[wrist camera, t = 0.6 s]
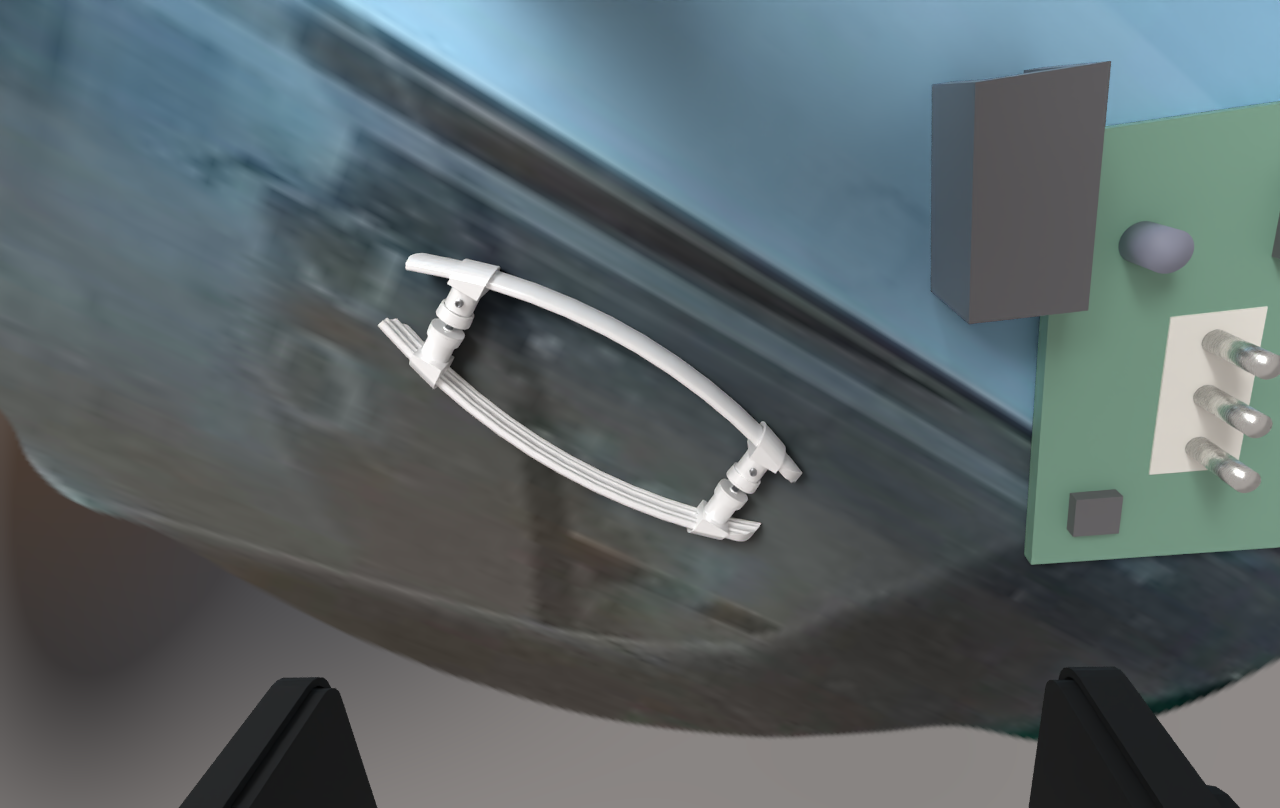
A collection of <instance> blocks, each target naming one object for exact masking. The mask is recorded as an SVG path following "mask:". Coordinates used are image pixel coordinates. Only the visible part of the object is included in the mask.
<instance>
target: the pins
mask: <svg viewBox="0 0 1280 808" xmlns="http://www.w3.org/2000/svg"><path fill="white" fill-rule="evenodd" d="M1201 344H1202V348H1203V349H1204V350H1205V351H1207V352H1209V353H1211V354H1213V355H1215V356H1217V357H1219V358H1221V359H1223V360H1225V361H1227V362H1229V363H1231V364H1233V365H1235V366H1237V367H1239V368H1241V369H1243V370H1245V371H1247V372H1249V373H1251V374H1253V375H1255V376H1257V377H1259V378H1261V379H1264V380H1268V379H1272V378H1275V377H1277V376H1278V375H1279V374H1280V356H1279V355H1277V354H1274V353H1272V352H1270V351H1268V350H1265V349H1263V348H1261V347H1259V346H1257V345H1254V344H1252V343H1250V342H1248V341H1245V340H1243V339H1241V338H1239V337H1237V336H1234V335H1232V334H1230V333H1228V332H1226V331H1223V330H1220V329H1216V330H1212V331H1210V332H1208V333H1207V334H1206V335H1205V336H1204V337H1203V339H1202V343H1201ZM1193 401H1194V402H1195V404H1197V405H1198V406H1200V407H1202V408H1203V409H1205V410H1206V411H1208V412H1210V413H1211V414H1213V415H1214V416H1216V417H1218V418H1219V419H1221V420H1222V421H1224V422H1226V423H1227V424H1229V425H1230V426H1232V427H1234V428H1235V429H1237V430H1238V431H1240V432H1242V433H1243V434H1245V435H1246V436H1248V437H1250V438H1260V437H1263V436H1264V435H1266V434H1267V433H1268V432H1269V431H1270V430H1271V428H1272V426H1273V422H1272V419H1271V418H1270V417H1268V416H1267V415H1265V414H1263V413H1261V412H1259V411H1258V410H1256V409H1254V408H1252V407H1251V406H1249V405H1247V404H1245V403H1244V402H1242V401H1240V400H1238V399H1237V398H1235V397H1233V396H1231V395H1230V394H1228V393H1226V392H1224V391H1222V390H1221V389H1219V388H1217V387H1215V386H1214V385H1203V386H1201V387H1199V388H1198V389H1197V390H1196V391H1195V393H1194V395H1193ZM1185 452H1186V453H1187V454H1188V455H1189V456H1190V457H1192V458H1193V459H1194V460H1196V461H1197V462H1198V463H1200V464H1201V465H1203V466H1204V467H1205V468H1207V469H1208V470H1209V471H1211V472H1212V473H1213V474H1215V475H1216V476H1217V477H1219V478H1220V479H1221V480H1223V481H1224V482H1225V483H1227V484H1228V485H1230V486H1231V487H1232V488H1234V489H1235V490H1236V491H1238V492H1240V493H1248V492H1251V491H1253V490H1255V489H1256V488H1257V487H1258V486H1259V485H1260V483H1261V476H1260V475H1259V474H1258V473H1257V472H1255V471H1254V470H1252V469H1251V468H1249V467H1248V466H1246V465H1245V464H1243V463H1242V462H1240V461H1239V460H1238V459H1236V458H1235V457H1233V456H1232V455H1230V454H1229V453H1227V452H1226V451H1224V450H1223V449H1221V448H1220V447H1218V446H1217V445H1216V444H1214V443H1213V442H1211V441H1210V440H1208V439H1207V438H1205V437H1195V438H1192V439H1191V440H1189V441H1188V442H1187V444H1186V446H1185Z"/></svg>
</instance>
